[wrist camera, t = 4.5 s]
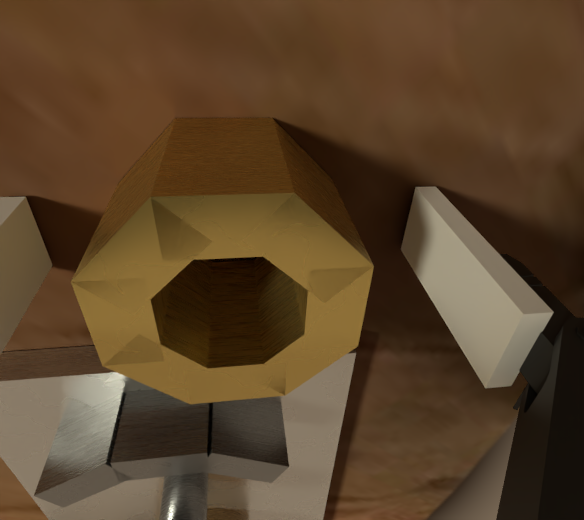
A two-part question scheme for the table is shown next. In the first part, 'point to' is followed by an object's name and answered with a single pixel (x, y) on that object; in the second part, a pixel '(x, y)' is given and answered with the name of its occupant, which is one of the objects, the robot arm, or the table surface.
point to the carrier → (165, 443)
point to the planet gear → (224, 265)
